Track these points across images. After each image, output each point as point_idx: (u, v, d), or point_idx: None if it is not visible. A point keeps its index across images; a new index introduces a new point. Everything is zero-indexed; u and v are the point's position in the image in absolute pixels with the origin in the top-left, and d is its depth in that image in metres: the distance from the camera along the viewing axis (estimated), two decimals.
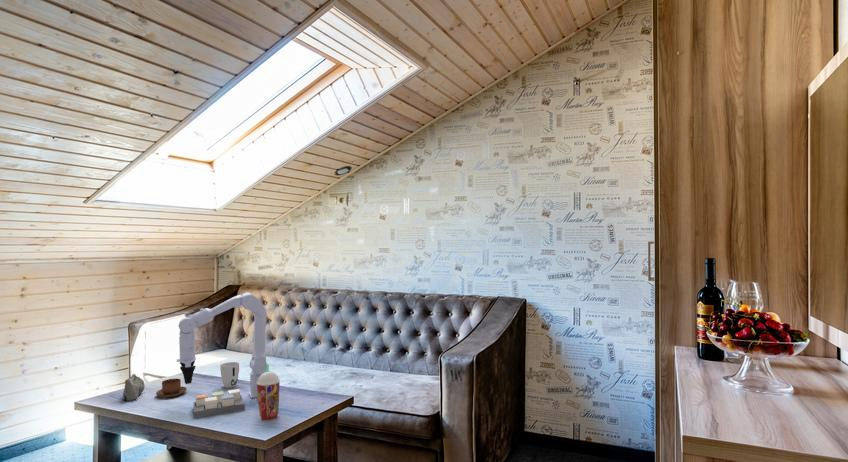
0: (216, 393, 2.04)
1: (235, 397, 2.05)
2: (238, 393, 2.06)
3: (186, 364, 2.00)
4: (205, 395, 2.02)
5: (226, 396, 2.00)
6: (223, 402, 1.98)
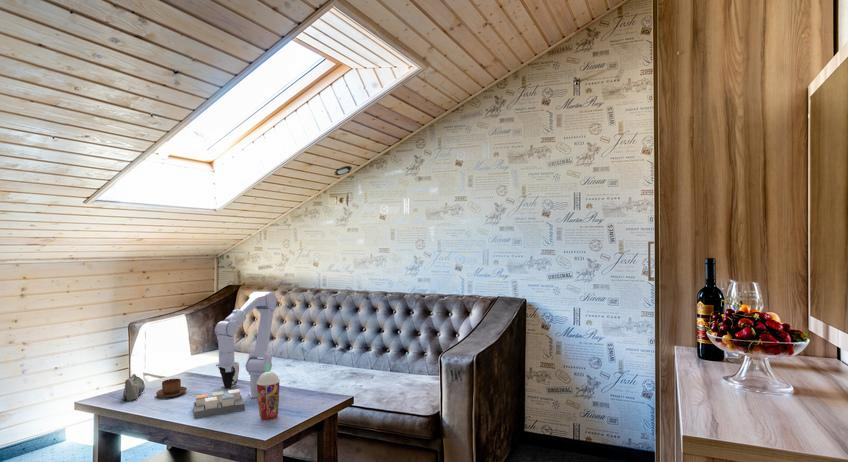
0: (216, 393, 2.04)
1: (235, 397, 2.05)
2: (238, 393, 2.06)
3: (227, 369, 1.93)
4: (205, 395, 2.02)
5: (226, 396, 2.00)
6: (223, 402, 1.98)
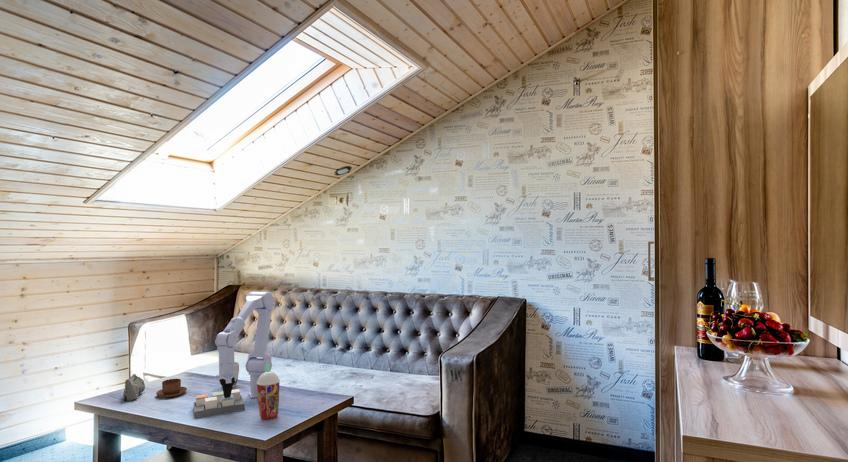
0: (216, 393, 2.04)
1: (235, 397, 2.05)
2: (238, 393, 2.06)
3: (227, 380, 1.93)
4: (205, 395, 2.02)
5: None
6: (223, 403, 1.98)
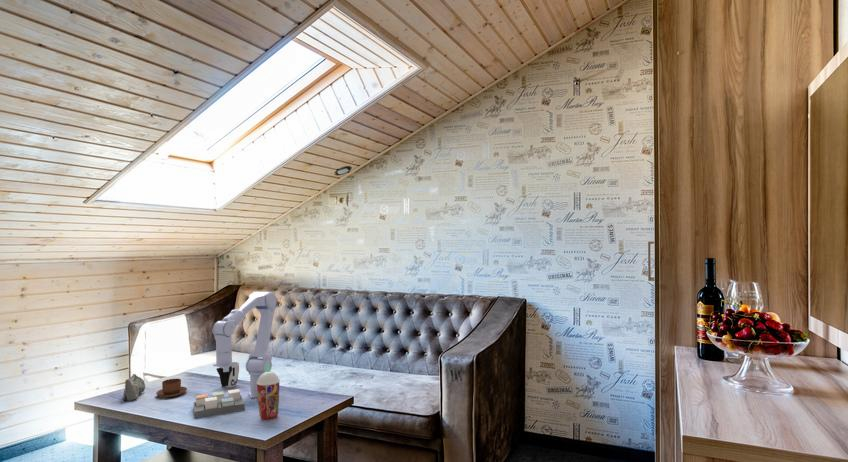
0: (216, 393, 2.04)
1: (235, 397, 2.05)
2: (238, 393, 2.06)
3: (224, 369, 1.94)
4: (205, 395, 2.02)
5: (226, 399, 2.00)
6: (223, 405, 1.98)
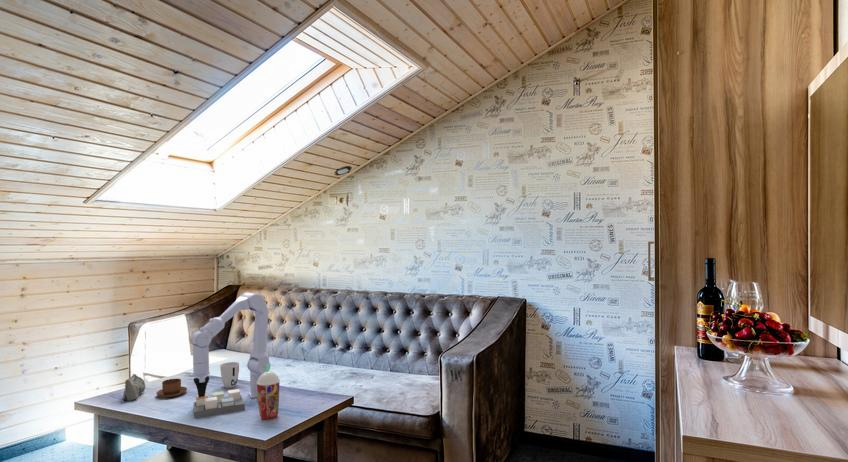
0: (216, 393, 2.04)
1: (235, 397, 2.05)
2: (238, 393, 2.06)
3: (200, 379, 1.95)
4: (205, 395, 2.02)
5: (226, 399, 2.00)
6: (223, 405, 1.98)
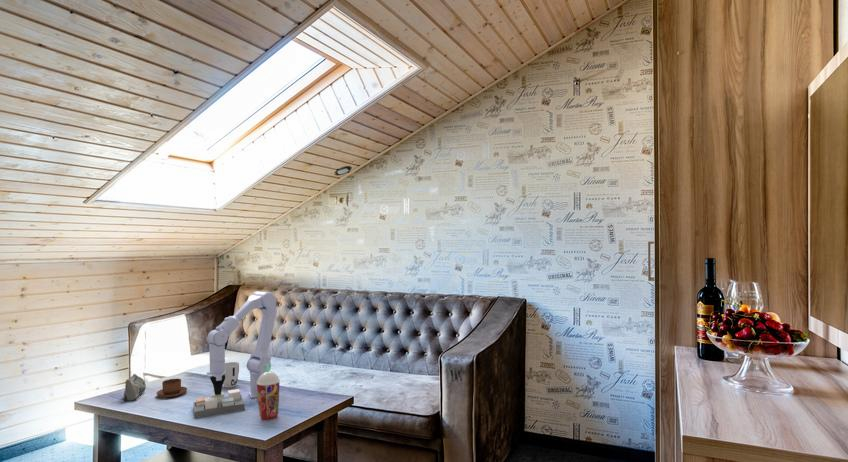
0: None
1: (235, 397, 2.05)
2: (238, 393, 2.06)
3: (217, 377, 1.98)
4: None
5: (226, 399, 2.00)
6: (223, 405, 1.98)
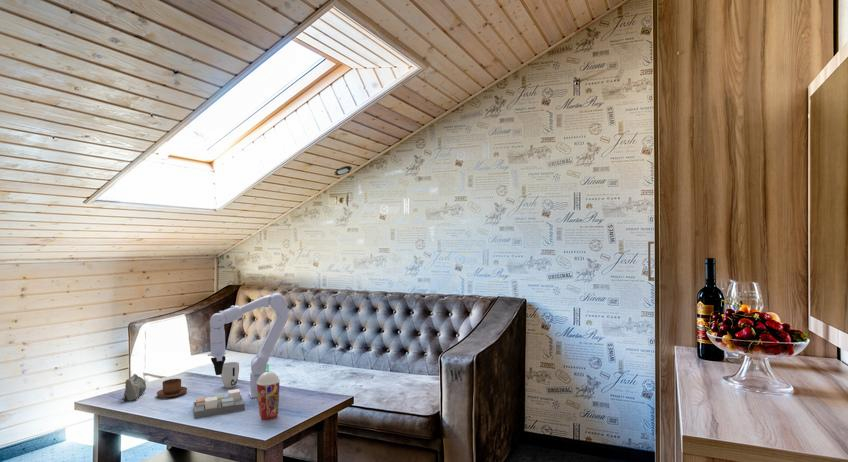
0: (216, 396, 2.04)
1: (235, 397, 2.05)
2: (238, 393, 2.06)
3: (218, 358, 2.07)
4: None
5: (226, 399, 2.00)
6: (223, 405, 1.98)
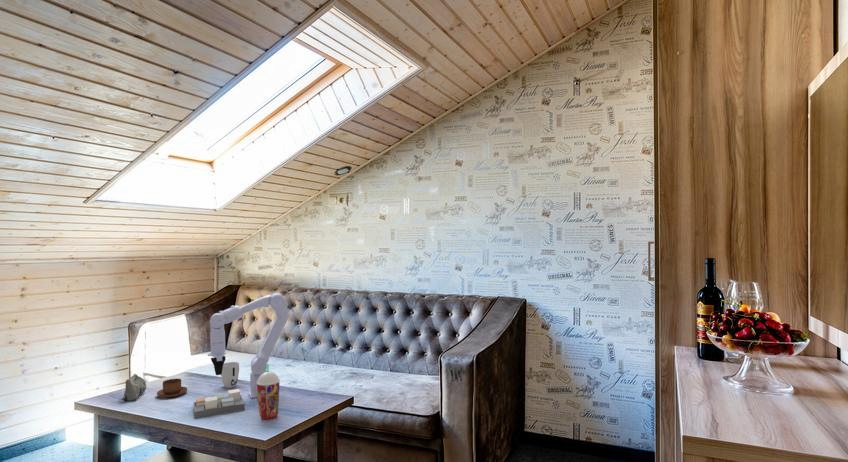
0: (216, 396, 2.04)
1: (235, 397, 2.05)
2: (238, 393, 2.06)
3: (218, 358, 2.07)
4: None
5: (226, 399, 2.00)
6: (223, 405, 1.98)
